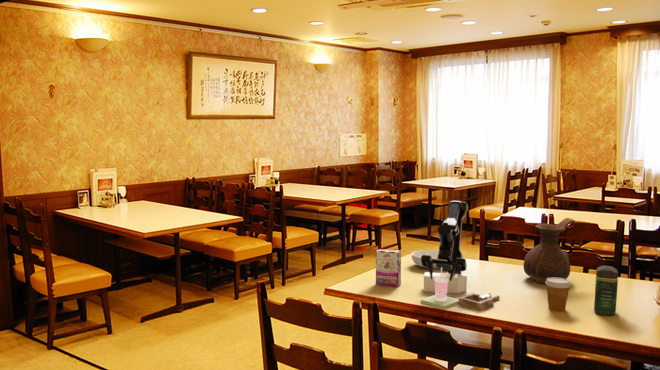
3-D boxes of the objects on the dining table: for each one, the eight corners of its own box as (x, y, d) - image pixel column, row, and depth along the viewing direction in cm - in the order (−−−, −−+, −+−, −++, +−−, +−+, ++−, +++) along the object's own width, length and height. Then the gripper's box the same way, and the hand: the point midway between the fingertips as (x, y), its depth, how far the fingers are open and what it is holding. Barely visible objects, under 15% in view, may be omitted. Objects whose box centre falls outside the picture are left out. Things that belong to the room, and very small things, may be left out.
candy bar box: (401, 284, 261) (401, 250, 260) (398, 287, 257) (398, 252, 255) (378, 282, 265) (378, 248, 264) (375, 284, 261) (375, 250, 259)
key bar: (486, 299, 238) (486, 294, 238) (491, 300, 236) (491, 295, 236) (478, 302, 234) (478, 296, 234) (483, 303, 232) (483, 298, 232)
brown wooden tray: (483, 295, 244) (484, 288, 244) (504, 300, 237) (505, 293, 236) (458, 304, 231) (458, 297, 231) (479, 310, 224) (480, 303, 223)
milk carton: (423, 291, 250) (466, 293, 246) (423, 276, 249) (467, 278, 246) (424, 287, 257) (466, 289, 253) (424, 272, 256) (466, 274, 252)
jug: (566, 289, 253) (569, 224, 250) (518, 282, 265) (520, 220, 262) (574, 278, 272) (576, 217, 269) (528, 272, 283) (530, 214, 280)
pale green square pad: (437, 296, 243) (437, 293, 242) (461, 302, 234) (461, 300, 234) (420, 302, 235) (420, 299, 234) (444, 309, 226) (444, 306, 226)
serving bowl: (410, 271, 286) (410, 258, 285) (411, 261, 306) (411, 249, 306) (452, 272, 282) (452, 259, 282) (450, 263, 303) (450, 250, 302)
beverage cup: (442, 296, 238) (442, 264, 237) (451, 300, 233) (452, 268, 231) (430, 298, 236) (431, 266, 234) (439, 302, 230) (440, 269, 228)
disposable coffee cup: (568, 306, 229) (569, 278, 228) (570, 313, 220) (571, 284, 219) (543, 304, 232) (544, 276, 231) (544, 311, 223) (545, 282, 222)
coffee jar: (616, 317, 216) (618, 270, 214) (593, 314, 219) (595, 268, 217) (615, 310, 224) (618, 265, 222) (594, 307, 228) (596, 263, 226)
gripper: (469, 260, 243) (465, 291, 234) (427, 256, 250) (421, 286, 241) (467, 246, 235) (462, 278, 226) (423, 242, 242) (417, 273, 233)
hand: (440, 279), depth 232 cm, fingers open, 8 cm apart
